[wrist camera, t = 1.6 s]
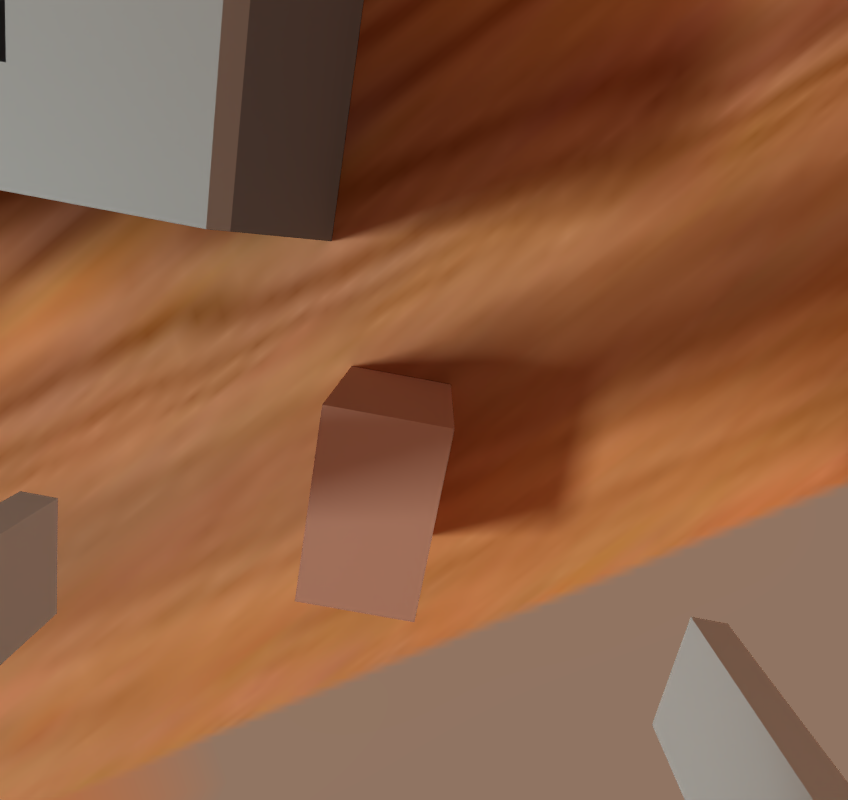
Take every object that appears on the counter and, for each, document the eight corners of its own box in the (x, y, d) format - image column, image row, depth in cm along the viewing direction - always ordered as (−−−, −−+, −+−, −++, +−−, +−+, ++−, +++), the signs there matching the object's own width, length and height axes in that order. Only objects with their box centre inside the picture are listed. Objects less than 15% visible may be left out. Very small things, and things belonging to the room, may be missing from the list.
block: (420, 535, 21) (414, 622, 16) (328, 519, 21) (295, 601, 16) (450, 383, 19) (454, 428, 14) (352, 365, 19) (322, 404, 14)
